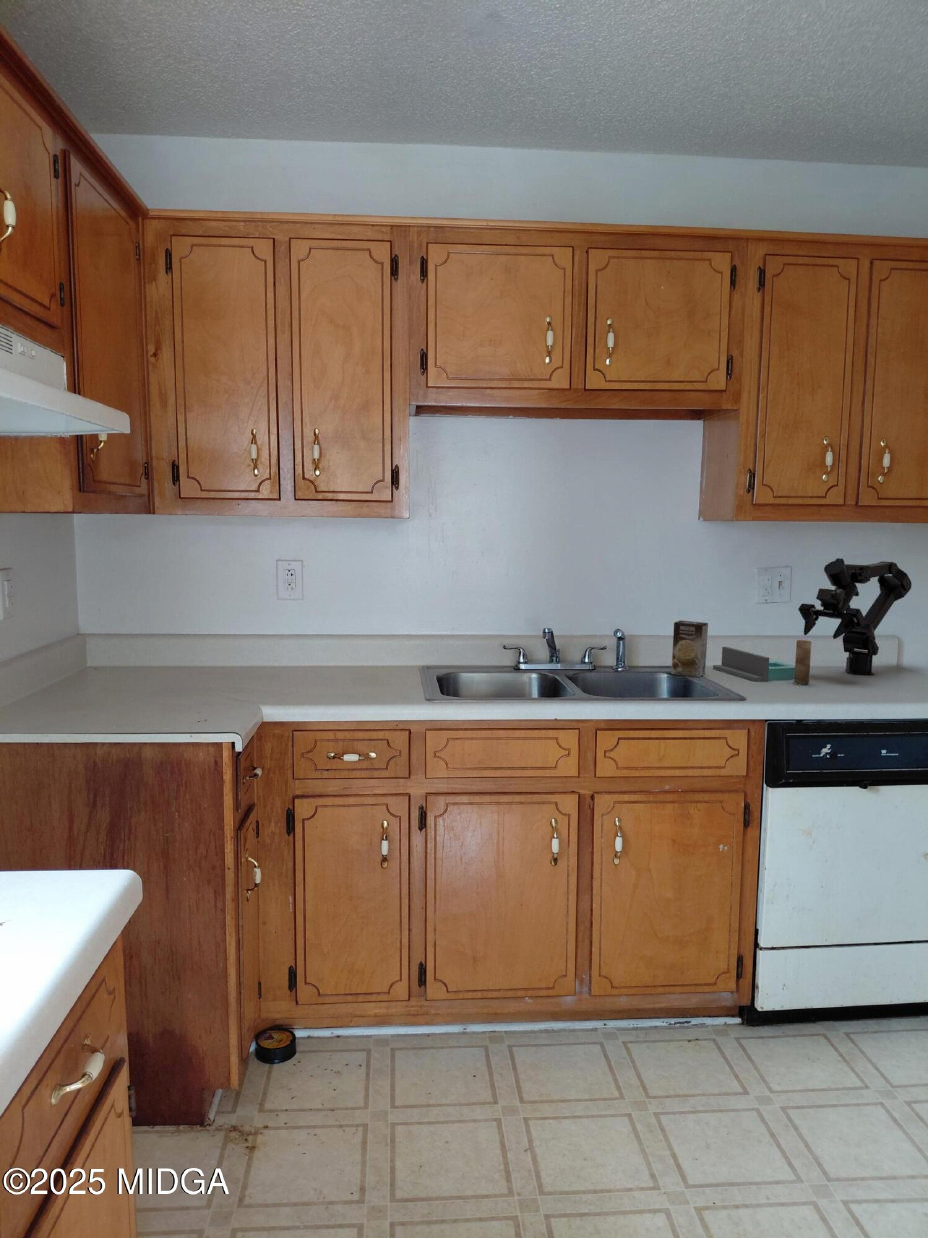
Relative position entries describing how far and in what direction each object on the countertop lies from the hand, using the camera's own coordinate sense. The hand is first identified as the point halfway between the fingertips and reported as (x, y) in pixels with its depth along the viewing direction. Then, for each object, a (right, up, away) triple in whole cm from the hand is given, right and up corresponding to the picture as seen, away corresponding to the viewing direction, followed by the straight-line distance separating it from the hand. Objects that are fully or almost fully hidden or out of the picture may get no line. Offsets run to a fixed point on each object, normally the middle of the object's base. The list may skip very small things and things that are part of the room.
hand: (818, 636), depth 255 cm
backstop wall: (-20, -12, +10) cm, 25 cm away
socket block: (-11, -13, +7) cm, 18 cm away
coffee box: (-36, -12, +10) cm, 39 cm away
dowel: (-6, -14, -3) cm, 15 cm away
